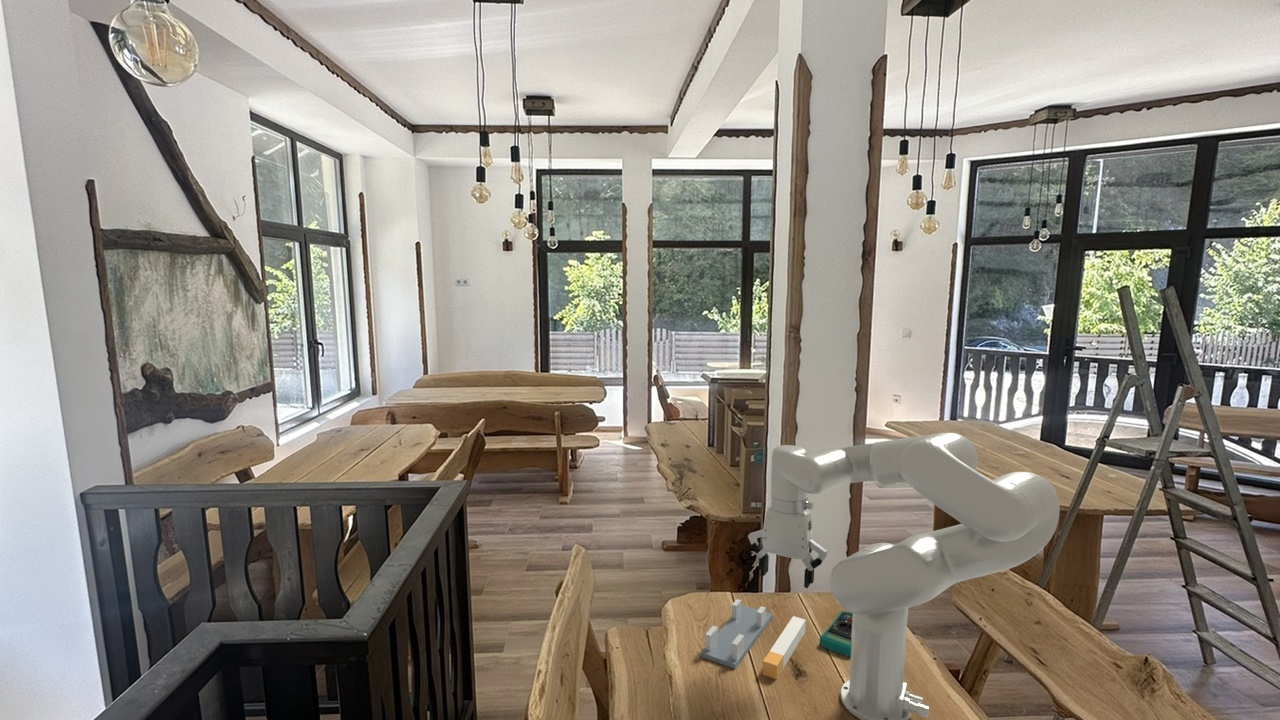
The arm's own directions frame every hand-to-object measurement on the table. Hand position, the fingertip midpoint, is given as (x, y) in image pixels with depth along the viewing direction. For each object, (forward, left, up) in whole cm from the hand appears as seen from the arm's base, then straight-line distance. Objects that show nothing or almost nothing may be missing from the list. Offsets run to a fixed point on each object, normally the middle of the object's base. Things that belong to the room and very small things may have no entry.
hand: (785, 579), depth 127 cm
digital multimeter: (-10, -13, -18) cm, 24 cm away
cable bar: (0, 0, -17) cm, 17 cm away
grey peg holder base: (+11, 0, -17) cm, 20 cm away
